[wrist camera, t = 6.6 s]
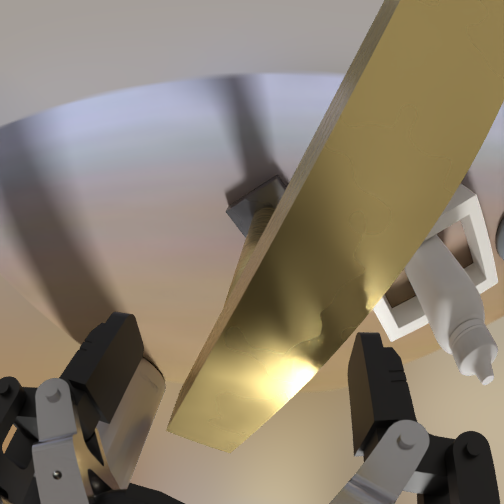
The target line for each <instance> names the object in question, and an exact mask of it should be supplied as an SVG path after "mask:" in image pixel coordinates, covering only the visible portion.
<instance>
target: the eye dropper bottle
mask: <svg viewBox="0 0 504 504" xmlns="http://www.w3.org/2000/svg"><path fill="white" fill-rule="evenodd" d="M404 269H405V272H406V275H407V277H408V279H409V281H410V283H411V285H412V287H413V289H414V291H415V293H416V296H417V298H418V300H419V302H420V304H421V306H422V308H423V311H424V313H425V315H426V317H427V319H428V322H429V324H430V326H431V329H432V331H433V333H434V335H435V338H436V340H437V342H438V343H439V345H440V346H441V348H442V349H443V350H444V351H446V352H447V353H449V354H453V357H454V359H455V361H456V364H457V366H458V369H459V371H460V373H461V374H463V375H467V376H469V375H476V376H477V377H478V379H479V380H480V381H481V383H482V384H483V385H486V384H489V383H490V382H491V381H492V380H493V379H494V374H493V370H492V366H491V363H492V362H493V361H494V359H495V358H496V355H497V352H498V348H497V345H496V343H495V341H494V339H493V338H492V336H491V334H490V332H489V330H488V329H487V327H486V325H485V324H484V318H485V315H484V307H483V302H482V299H481V296H480V294H479V292H478V290H477V288H476V286H475V285H474V283H473V282H472V280H471V279H470V277H469V276H468V274H467V273H466V272H465V270H464V269H463V268H462V266H461V265H460V264H459V262H458V261H457V260H456V258H455V257H454V256H453V254H452V253H451V252H450V250H449V249H448V248H447V247H446V245H445V244H444V243H443V242H442V240H441V239H440V238H439V237H438V236H437V234H435V235H434V236H432V237H430V238H429V239H427V240H425V241H423V243H422V244H421V245H420V247H419V248H418V250H417V251H416V253H415V254H414V255H413V257H412V258H411V260H410V261H409V262H408V264H407V265H406V266H405V268H404Z"/></svg>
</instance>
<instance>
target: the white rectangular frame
mask: <svg viewBox="0 0 504 504" xmlns="http://www.w3.org/2000/svg"><path fill="white" fill-rule="evenodd" d="M459 220H461V223H462V226H463V229H464V232H465V235H466V238H467V242H468V245H469V248H470V252H471V255H472V259H473V263H472V264H471V265H469V266H467V267H466V268H464V270H465V272H466V273H467V274H468V276H469V277H470V279H471V280H472V282H473V283H474V285H475V286H476V288H477V290H478V292H479V294H481V293H482V292H484V291H486V290H487V289H489V288H490V287H492V286H494V285H495V284H497V283H498V278H497V273H496V268H495V263H494V258H493V253H492V249H491V245H490V240H489V236H488V232H487V229H486V225H485V221H484V218H483V214H482V211H481V207H480V204H479V201H478V198H477V195H476V194H475V193H474V192H472V191H471V190H470V189H468V188H467V187H465V186H464V185H462V184H461V183H460V185H459V187H458V188H457V190H456V192H455V193H454V195H453V197H452V198H451V200H450V202H449V203H448V205H447V206H446V208H445V209H444V211H443V213H442V214H441V216H440V217H439V219H438V220H437V222H436V223H435V225H434V226H433V228H432V229H431V231H430V232H429V234H428V235H427V237H426V238H425V240H427V239H429V238H430V237H432V236H434V235H435V234H437V233H439V232H441V231H442V230H444V229H446V228H447V227H449V226H451V225H452V224H454V223H456V222H457V221H459ZM425 240H424V241H425ZM373 310H374V312H375V314H376V315H377V317H378V319H379V321H380V322H381V324H382V326H383V328H384V330H385V331H386V333H387V335H388V337H389V339H390V341H391V342H392V341H394V340H396V339H398V338H400V337H402V336H404V335H406V334H408V333H410V332H412V331H414V330H416V329H418V328H420V327H422V326H424V325H426V324H428V323H429V322H428V319H427V317H426V315H425V313H424V311H423V308H422V306H421V304H420V302H419V300H418V298H417V296H415V297H413V298H411V299H409V300H407V301H405V302H403V303H401V304H400V305H398V306H396V307H394V308H391V306H390V304H389V302H388V300H387V298H386V296H385V294H384V295H383V297H382V298H381V299H380V300H379V302H378V303H377V304H376V305H375V307H374V308H373Z"/></svg>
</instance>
